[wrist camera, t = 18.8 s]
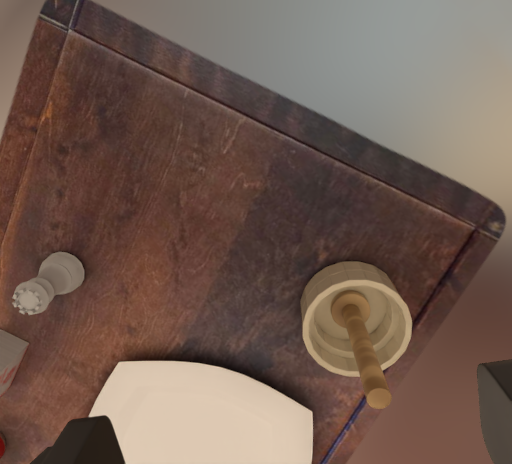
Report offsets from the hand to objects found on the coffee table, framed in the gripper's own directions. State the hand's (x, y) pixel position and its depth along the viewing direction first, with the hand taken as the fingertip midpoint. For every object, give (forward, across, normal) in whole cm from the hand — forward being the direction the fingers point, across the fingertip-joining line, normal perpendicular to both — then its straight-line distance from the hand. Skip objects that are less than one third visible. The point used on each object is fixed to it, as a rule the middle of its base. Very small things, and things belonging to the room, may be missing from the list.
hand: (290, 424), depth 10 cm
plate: (+36, +16, +32) cm, 51 cm away
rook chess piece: (+36, +25, +6) cm, 44 cm away
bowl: (+36, -4, +16) cm, 40 cm away
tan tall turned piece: (+36, -4, +16) cm, 39 cm away
